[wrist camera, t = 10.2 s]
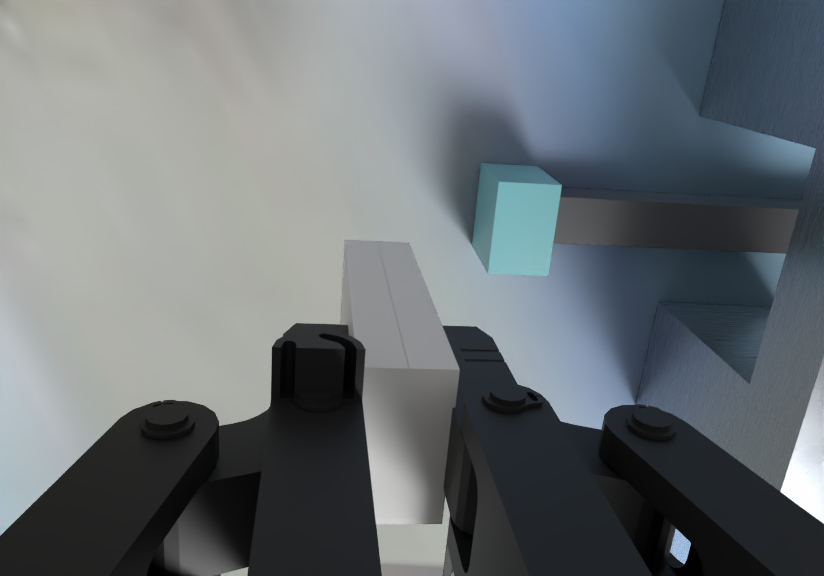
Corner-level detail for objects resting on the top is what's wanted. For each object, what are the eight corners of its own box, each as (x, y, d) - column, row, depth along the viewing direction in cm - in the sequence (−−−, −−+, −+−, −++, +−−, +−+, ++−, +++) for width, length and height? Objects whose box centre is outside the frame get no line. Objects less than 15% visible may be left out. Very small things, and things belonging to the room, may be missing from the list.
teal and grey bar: (469, 271, 26) (497, 327, 21) (484, 133, 24) (518, 161, 20) (985, 291, 28) (1111, 345, 24) (1033, 167, 27) (1179, 199, 22)
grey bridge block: (635, 405, 29) (757, 565, 20) (730, -25, 23) (952, -48, 15) (751, 408, 29) (915, 564, 21) (871, -11, 24) (1161, -25, 15)
